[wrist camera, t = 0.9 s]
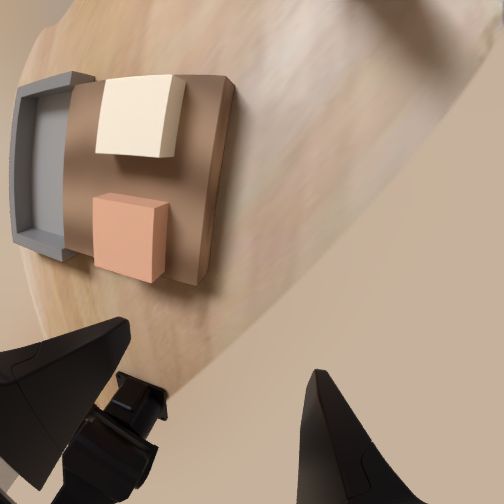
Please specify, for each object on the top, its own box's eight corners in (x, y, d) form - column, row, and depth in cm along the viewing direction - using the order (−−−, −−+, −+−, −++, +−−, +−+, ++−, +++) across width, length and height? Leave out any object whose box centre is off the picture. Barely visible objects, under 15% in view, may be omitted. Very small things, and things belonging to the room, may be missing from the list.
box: (82, 251, 23) (62, 262, 21) (31, 234, 24) (13, 242, 22) (94, 76, 17) (72, 71, 15) (38, 89, 18) (17, 87, 16)
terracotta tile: (164, 271, 19) (151, 283, 17) (109, 256, 20) (94, 265, 18) (168, 202, 18) (154, 208, 16) (110, 192, 18) (92, 197, 16)
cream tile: (174, 156, 16) (159, 157, 15) (113, 151, 17) (95, 153, 15) (186, 81, 15) (172, 74, 13) (123, 84, 15) (106, 79, 13)
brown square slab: (207, 272, 22) (196, 286, 19) (82, 239, 23) (64, 247, 21) (234, 85, 17) (225, 76, 14) (92, 88, 18) (73, 85, 16)
